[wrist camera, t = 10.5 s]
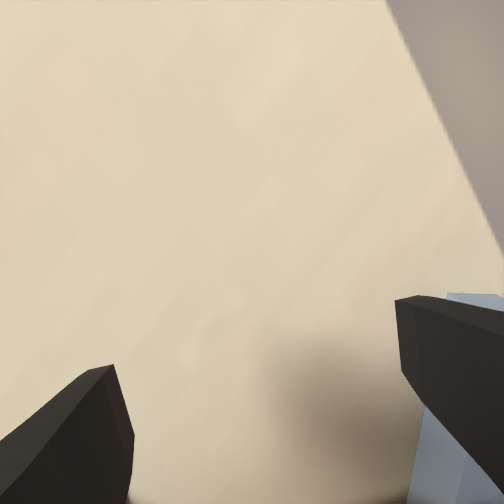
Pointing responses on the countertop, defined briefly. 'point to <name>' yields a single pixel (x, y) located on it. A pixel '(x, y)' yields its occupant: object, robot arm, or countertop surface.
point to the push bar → (451, 451)
